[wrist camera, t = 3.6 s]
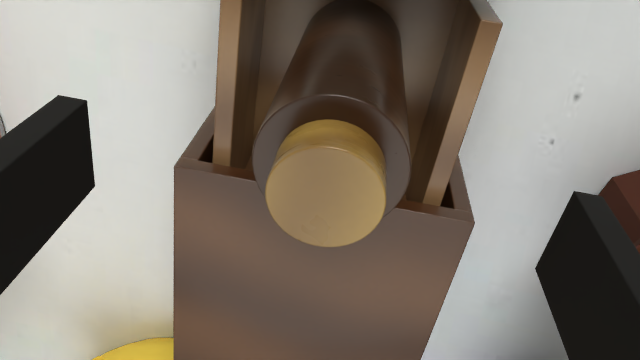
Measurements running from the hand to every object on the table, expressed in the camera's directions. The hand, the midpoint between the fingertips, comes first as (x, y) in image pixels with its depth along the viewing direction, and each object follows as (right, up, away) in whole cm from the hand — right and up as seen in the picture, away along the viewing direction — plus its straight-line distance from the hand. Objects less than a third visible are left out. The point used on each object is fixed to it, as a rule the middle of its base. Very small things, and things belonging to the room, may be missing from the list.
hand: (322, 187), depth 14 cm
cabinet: (0, -2, +18) cm, 18 cm away
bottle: (+1, +6, +10) cm, 12 cm away
